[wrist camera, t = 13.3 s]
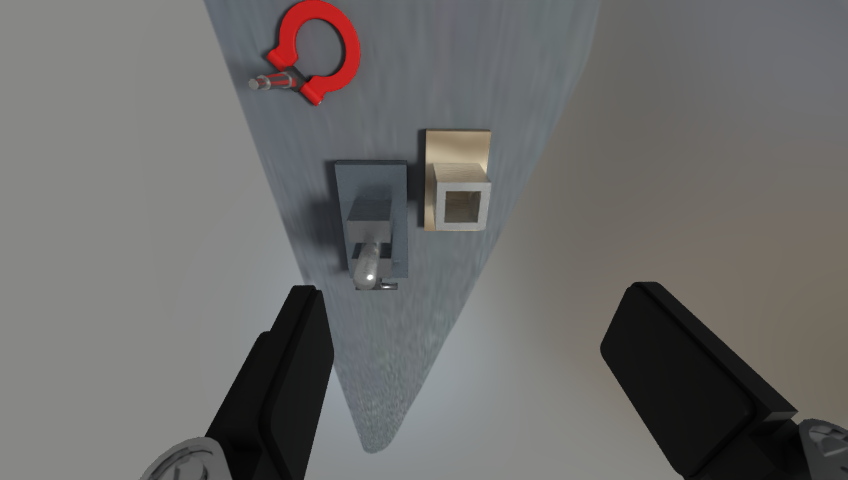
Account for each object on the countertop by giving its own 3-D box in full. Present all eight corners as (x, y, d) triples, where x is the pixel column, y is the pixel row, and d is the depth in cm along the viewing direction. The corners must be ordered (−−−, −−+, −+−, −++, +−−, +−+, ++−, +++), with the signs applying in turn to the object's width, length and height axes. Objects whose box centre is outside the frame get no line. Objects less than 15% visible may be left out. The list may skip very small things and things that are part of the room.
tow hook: (315, -20, 31) (261, 51, 34) (270, -68, 20) (195, 45, 23) (376, 52, 35) (323, 112, 37) (366, 45, 23) (292, 132, 26)
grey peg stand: (337, 160, 40) (306, 205, 28) (406, 160, 41) (404, 205, 29) (352, 270, 50) (333, 339, 38) (407, 270, 50) (407, 338, 38)
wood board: (426, 129, 39) (426, 131, 38) (489, 129, 39) (491, 131, 38) (424, 226, 46) (424, 230, 45) (477, 226, 46) (478, 230, 45)
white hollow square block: (433, 163, 40) (437, 182, 34) (479, 163, 40) (491, 182, 34) (432, 205, 43) (435, 230, 37) (474, 205, 43) (485, 229, 37)
